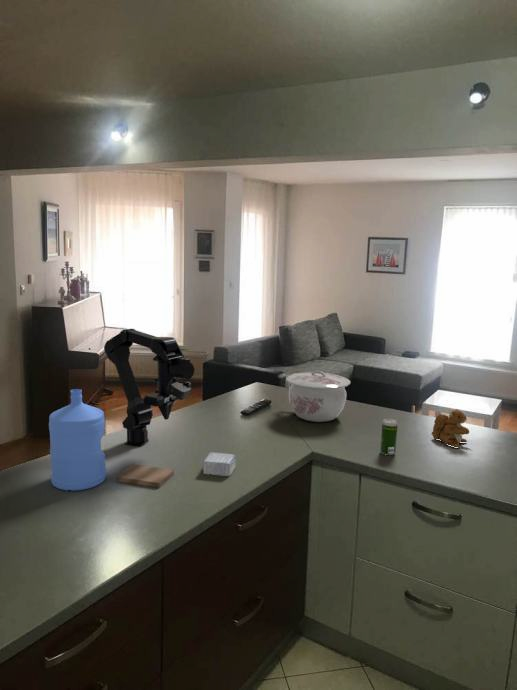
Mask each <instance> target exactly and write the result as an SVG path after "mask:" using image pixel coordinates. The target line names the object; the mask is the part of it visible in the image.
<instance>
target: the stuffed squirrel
mask: <svg viewBox="0 0 517 690" xmlns="http://www.w3.org/2000/svg"><path fill="white" fill-rule="evenodd" d="M448 414H449V415H446V414H442V413H439V414H438V415H436V417H435V419H434V424H433V428H432V432H431V433H430V434H431V435H432V438H433V439H434V440H435V439H440V440H441V441H440V442H441V443H443V442H444V443H445V444H448V445H451V446H454V447H459V448H460V444H459V443H460V442H467V443H468V441H467V439H466V438H463V435H468V434H470V430H469V428H468V427H465V426H463V424H464V423H465V422H467V420H468V419H467V416H466V414H465V413H464V412H462V411H461V410H459V408H458V409H457V408H455V409H454V410H450V411H448ZM444 443H443V444H444ZM445 444H444V445H445Z"/></svg>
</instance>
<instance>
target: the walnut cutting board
mask: <svg viewBox="0 0 517 690" xmlns="http://www.w3.org/2000/svg"><path fill="white" fill-rule="evenodd" d="M174 471H175V470H174V469H170V468H163V467H162V468H161V467H157V466H156V467H155V466H149V465H141V464H135V463H134V464H132V465H130V466H129V467H128V468H126V469H125V470H124V471H122V472H121V473H120V474H119V475H116V481H117V482H119V483H126V484H133V485H138V486H144V487H150V488H151V487H152V488H157V489H160V488H161V487H162V486H163V485H164V484H165V483H166V482H168V481H169V480H170V479H171V478H172V477H173V476H174V474H175V472H174Z"/></svg>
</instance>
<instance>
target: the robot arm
mask: <svg viewBox="0 0 517 690" xmlns="http://www.w3.org/2000/svg"><path fill="white" fill-rule="evenodd" d="M133 344H136V345H137V346H138V345H139V346H141V347H144V348H147V349H149V350H150V351H151V352H152V354H155V356H154V357H152V360H153V361H154V362H157V377H155V378H154V381H155V382H157V389H155V390H154V393H149V394H146V395H144V397H142V395H141V393H140V390H139V389H140V388H139V387H138V384H137V380H136V378H135V375H134V372H133V370H132V366H131V363H130V356H131V349H130V347H132V346H133ZM103 349H104V353H105V355H106V357H107V359H108V360H109V361H110V362H111V363H112V364H114V366H115V367H116V368H115V369H116V372H117V374H118V377H119V380H120V383H121V386H122V389H123V392H124V395H125V397H126V400H127V405H126V407H127V408H126V415H127V416H126V417H125V418H124V420H122V422H121V424H122V427H123V429H125V430H126V441H125V442H124V445H128V446H134V447H142V446H144V445H145V444H146V443H148V442H149V440H150V439H149V438H148V437H149V433H148V432H149V431H148V429H147V426H149V425H151V421H152V418H153V416H154V414H153V408H152V407H157V408H158V409H159V411H160V413H161V415H162V417H163V419H164V420H166V421H167V420H169V417H170V416H171V412H172V409H173V406H174V404H175V403H176V402H178V401H183V400H185V399H188V397H189V395H190V394H191V393H192V383H191V382H189V381H186V382H184V383H182V382H181V383H180V382H179V379H183V380H190V379H192V378H193V376H194V374H195V367H194V364H193V362H191V359H190V358H185V355H184V353H183V351H182V349H181V348H180V345H179V344H178V342H177V339H176V338H175V337H171V336H155V335H153V334H152V335H151V334H149V333H146V332H143V331H140V330H136V329H135V328H126V329H122V330H121V331H119V332H118V333H117V334H116V335H115V336H113V337H111V338H110V339H108V340H107V341H106V342H105V344H104V346H103Z"/></svg>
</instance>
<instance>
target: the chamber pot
mask: <svg viewBox="0 0 517 690" xmlns="http://www.w3.org/2000/svg"><path fill="white" fill-rule="evenodd" d="M285 380H286V382H287V384H288V401H289V405H290V407H291V409H292V411H293V412H294V414H295V415H296V416H297V417H298V418H300V419H302V420H304V421H308V422H311V423H312V422H313V423H325V422H331V421H333V420H335V419H336V418H338V416H339V415H340V413H342V411H343V410H344V408H345V405H346V401H347V391H346V389H345V388H346V387H348V386H349V385H351V380H350V379H348V378H347V377H345V376H342V375H338V374H334V373H330V372H323V371H321V370H313V371H305V372H296V373H295V372H294V373H292V374H290V375H288V376H287V377H286V378H285Z"/></svg>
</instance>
